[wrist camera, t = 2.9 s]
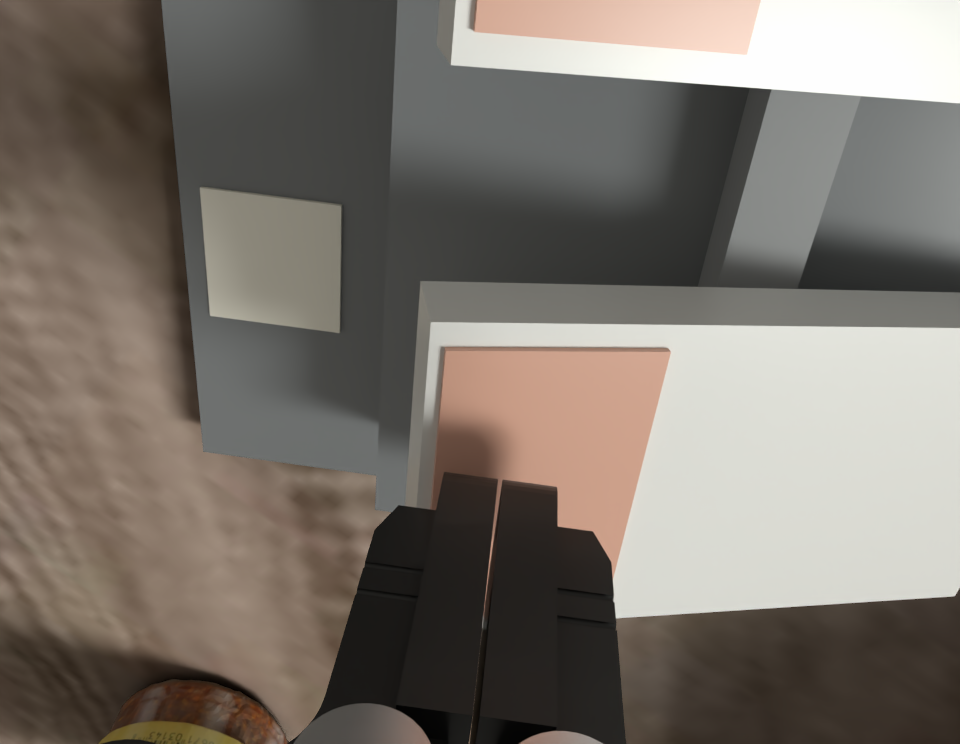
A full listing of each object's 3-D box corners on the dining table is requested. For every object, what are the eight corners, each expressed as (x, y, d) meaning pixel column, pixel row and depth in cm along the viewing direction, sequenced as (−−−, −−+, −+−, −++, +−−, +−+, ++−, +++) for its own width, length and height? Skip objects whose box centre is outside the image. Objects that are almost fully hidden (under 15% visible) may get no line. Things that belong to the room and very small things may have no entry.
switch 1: (1043, 293, 13) (1110, 333, 12) (913, 549, 16) (958, 600, 14) (420, 281, 11) (431, 325, 10) (400, 576, 14) (407, 637, 12)
